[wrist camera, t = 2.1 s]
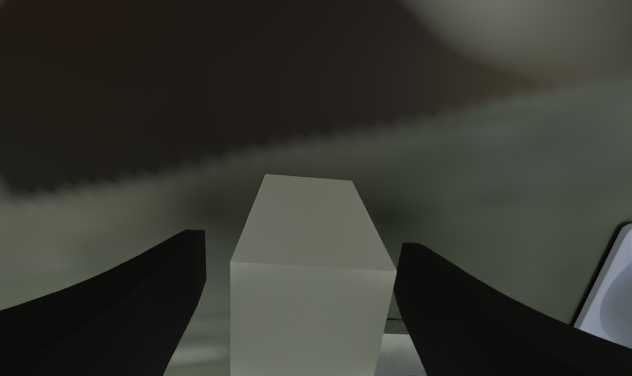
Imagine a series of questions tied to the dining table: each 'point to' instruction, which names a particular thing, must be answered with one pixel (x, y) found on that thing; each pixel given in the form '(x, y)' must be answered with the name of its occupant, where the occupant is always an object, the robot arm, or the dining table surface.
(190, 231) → the robot arm
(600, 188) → the dining table surface
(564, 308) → the dining table surface
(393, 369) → the socket
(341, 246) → the plug
